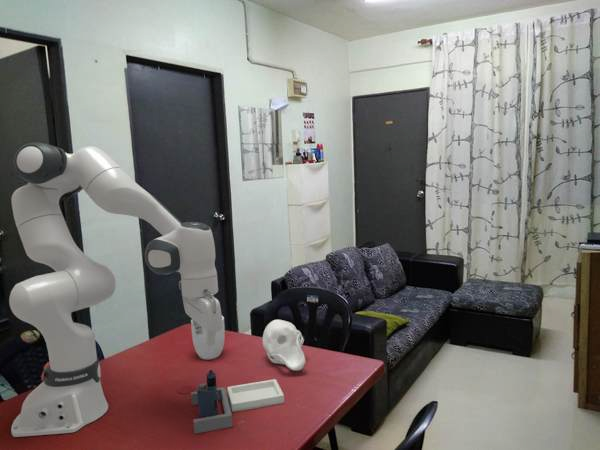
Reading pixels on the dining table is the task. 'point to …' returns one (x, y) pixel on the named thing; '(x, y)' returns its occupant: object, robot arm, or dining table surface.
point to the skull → (284, 344)
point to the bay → (213, 421)
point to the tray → (255, 395)
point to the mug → (203, 348)
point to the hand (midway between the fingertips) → (204, 339)
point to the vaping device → (208, 396)
